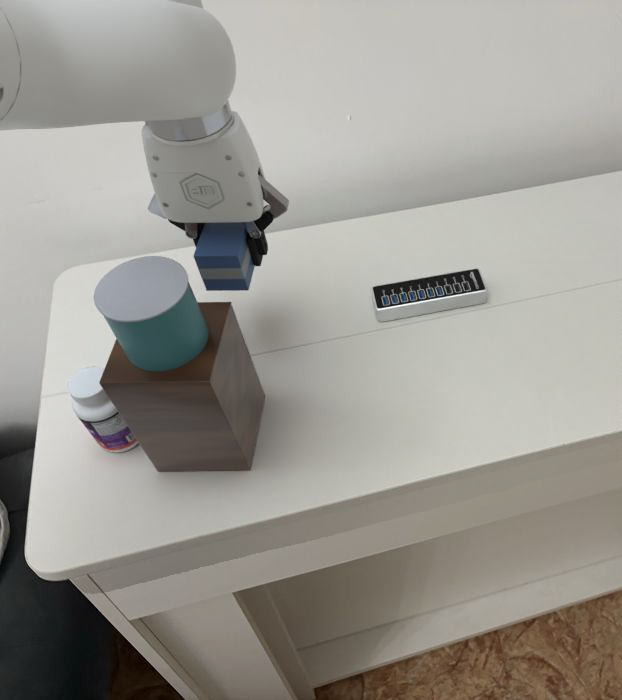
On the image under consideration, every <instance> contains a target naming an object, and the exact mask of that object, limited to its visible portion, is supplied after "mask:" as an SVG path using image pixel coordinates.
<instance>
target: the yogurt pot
mask: <svg viewBox="0 0 622 700" xmlns="http://www.w3.org/2000/svg"><path fill="white" fill-rule="evenodd" d="M197 302H198V301H197V298H196V296H195V293H194V290H193V288H192V286H191V284H190V281H189V275H188V272H187V270H186V268H185V267H184V266H183V265H182V264H181V263H180V262H179V261H176V260H175V259H172V258H170V257H166V256H161V255H160V256H159V255H149V256H141V257H136V258H133V259H129V260H126V261H124V262H122V263H120V264H118V265H116V266H115V267H114V268H112V269H110V270H109V271H108V272H107V273H105V274H104V275H103V277H101V279H100V280H99V281H98V283H97V284H96V286H95V289H94V291H93V303H94V306H95V307H96V309H97V311H98V312H99V313H100V314H101V315H102V316H103V317H104V319H105V321H106V323H107V324H108V326H109V328H110V330H111V331H112V333H113V335H114V336H115V338H117V340H118V341H119V343H120V345H121V347H122V348H123V350H124V352H125V353H126V355H127V357H128V359H129V360H130V361H131V363H133V364H134V365H135V366H137V367H138V368H141V369H143V370H147V371H155V372H159V371H168V370H172V369H175V368H178V367H181V366H183V365H185V364H187V363H188V362H190V361H191V360H193V359H194V358H195V357H196V356H198V355H199V354H200V352H201V351H202V350H203V349H204V347H205V345H206V343H207V340H208V336H209V331H208V326H207V324H206V322H205V319H204V317H203V314H202V312H201V310H200V307H199V305H198V303H197Z"/></svg>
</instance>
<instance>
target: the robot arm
mask: <svg viewBox="0 0 622 700" xmlns="http://www.w3.org/2000/svg"><path fill="white" fill-rule="evenodd" d="M202 2H203V1H202V0H0V131H13V130H14V131H15V130H50V129H51V130H53V129H65V128H76V127H85V126H93V125H105V124H115V123H135V122H137V123H138V122H144V123H145V124H144V125H143V126H142V128H141V139H142V146H143V151H144V157H145V162H146V166H147V170H148V174H149V178H150V181H151V185H152V188H153V191H154V193H153V196H152V197H151V200H150V201H149V204H148V206H147V210H148V212H150V213H151V214H153V215H156V216H158V217H160V218H162V219H164V220H166V219H167V220H168V222H169V223H170V224H172V225H173V226H175V227H177V228H178V229H180V230H182V231H184V233H185V236H186V237H187V238H188V239H191V240H192V241H193V244H194V247H195V248H196V247H197V244H198V241H199V238H200V235H201V233H202V230H203V227H204V224H205V223H223V222H242V224H243V225H244V227H245V228H246V230H247V232H248V234H247V238H246V242H247V245H248V248H249V251H250V255H251V258H252V262H253V265H255V267H261V266H262V262H263V257H264V256H267V255H268V252H269V245H268V240H267V237H266V233H265V230H266V229H267V228H268V227H269V226H270V225H271V224H272V223H273V221H274V220H275V219H277V218H279V217H281V216H282V215H283V214H285V213H286V212H287V211H288V209H289V204H290V200H289V199H288V197H286V196H285V195H284V194H283V193H281V191H279V190H278V189H277V188H276V187H275V186H273V185H272V184H271V183H270V182H269V181H268V180H267V179H266V176H265V173H264V169H263V167H262V162H261V160H260V157H259V154H258V152H257V150H256V147H255V145H254V142H253V139H252V137H251V135H250V133H249V131H248V129H247V128H246V125H245V124H244V121H243V119H242V118H241V116H240V114H239V113H238V112H237V111H234V110H232V107H231V104H230V100H229V99H230V98H231V95H232V93H233V90H234V87H235V83H236V77H237V60H236V54H235V49H234V46H233V44H232V41H231V39H230V35H228V32H227V31H226V29H225V28H224V26H223V25H222V24H221V22H220V21H219V20H218V19H217V18H216V17H215V16H214V15H213V14H212V13H210V12H209V11H208V10H206V9H204V5H203V3H202ZM264 202H266V203H267V204H266V205H265V203H264Z"/></svg>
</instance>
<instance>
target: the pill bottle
mask: <svg viewBox="0 0 622 700" xmlns="http://www.w3.org/2000/svg"><path fill="white" fill-rule="evenodd" d="M104 369H105V368H103V367H99V366H88V367H85V368H83V369H80V370H79V371H77V372H75V373H74V374H73V375H72V376H71V377H70V378H69V381H68V383H67V391H68V393H69V395H70V397H71V398H72V400H71V407H72V410H73V413H74V414H75V415H76V417H77V419H78V420H79V421H80V422H81V423H82V425H83V426H84V428H86V430H87V431H88V432H89V434H90V435H91V437H92V438H93V440H95V441H96V443H97V444H98V445H99V447H100V448H101V449H103V450H105V451H106V452H110V453H123V452H126V451H129V450H132V449H133V448H135V447H136V446H138V444H139V442H138V441H137V439H136V438H135V436H134V435H133V433H132V432H131V430H130V429H129V427H128V426H127V424H126V423H125V421H124V420H123V418H122V417H121V415H120V414H119V412H118V411H117V409H116V408H115V406H114V405H113V403H112V402H111V400H110V399H109V397H108V396H107V394H106V393H105V391H104V390H103V388H102V387H101V385H100V384H99V382H100V379H101V377H102V374H103V372H104Z"/></svg>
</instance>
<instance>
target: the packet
mask: <svg viewBox="0 0 622 700" xmlns="http://www.w3.org/2000/svg"><path fill="white" fill-rule="evenodd" d="M247 234H248V232H247V230H246V228H245V227H244V225H243V224H242V222H223V223H205V224H204V227H203V230H202V233H201V235H200V238H199V241H198V244H197V247H196V246H195V250H194V253H193V259H194V262H195V264H196V267H197V269H198V272H199V275H200V277H201V280H202V282H203V285H204V287H205V290H206V291H207V292H210V291H211V292H216V291H217V292H219V291H221V292H223V291H225V292H226V291H227V292H228V291H230V292H231V291H234V292H235V291H249V290H250V286H251V282H252V279H253V274H254V271H255V267H256V266H255V265H253V262H252V258H251V255H250V251H249V248H248V245H247V242H246V238H247Z"/></svg>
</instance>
